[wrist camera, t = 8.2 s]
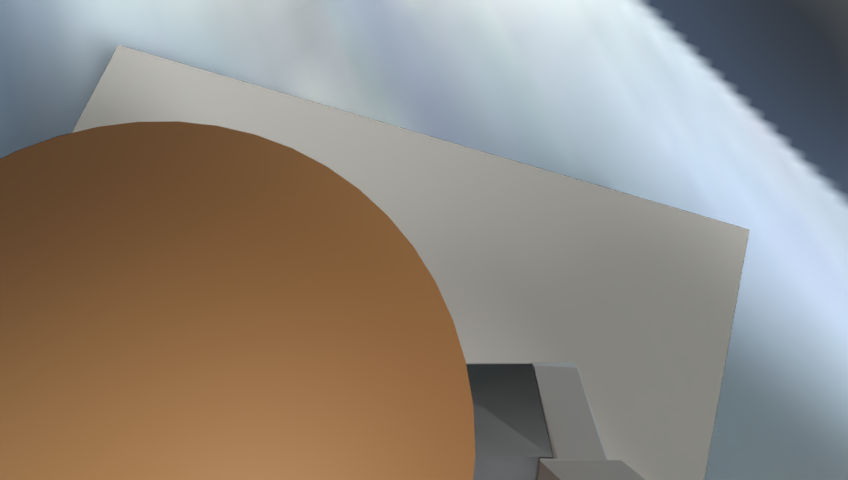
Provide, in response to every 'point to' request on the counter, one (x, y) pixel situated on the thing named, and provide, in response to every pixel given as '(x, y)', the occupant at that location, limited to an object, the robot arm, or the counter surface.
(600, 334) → the socket block
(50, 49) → the counter surface
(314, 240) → the plug
